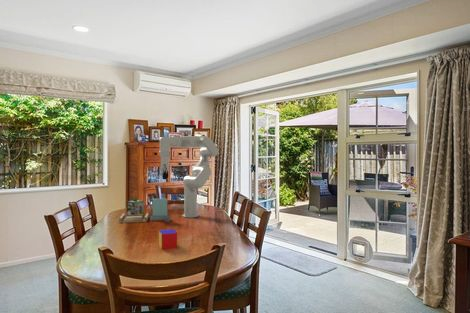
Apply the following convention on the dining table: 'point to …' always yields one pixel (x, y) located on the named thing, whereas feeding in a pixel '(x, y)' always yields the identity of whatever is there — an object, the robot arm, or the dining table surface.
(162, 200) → the teal rectangular slab
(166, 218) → the stand
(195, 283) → the dining table surface
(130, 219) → the beige rectangular block
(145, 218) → the rack
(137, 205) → the chalk box
